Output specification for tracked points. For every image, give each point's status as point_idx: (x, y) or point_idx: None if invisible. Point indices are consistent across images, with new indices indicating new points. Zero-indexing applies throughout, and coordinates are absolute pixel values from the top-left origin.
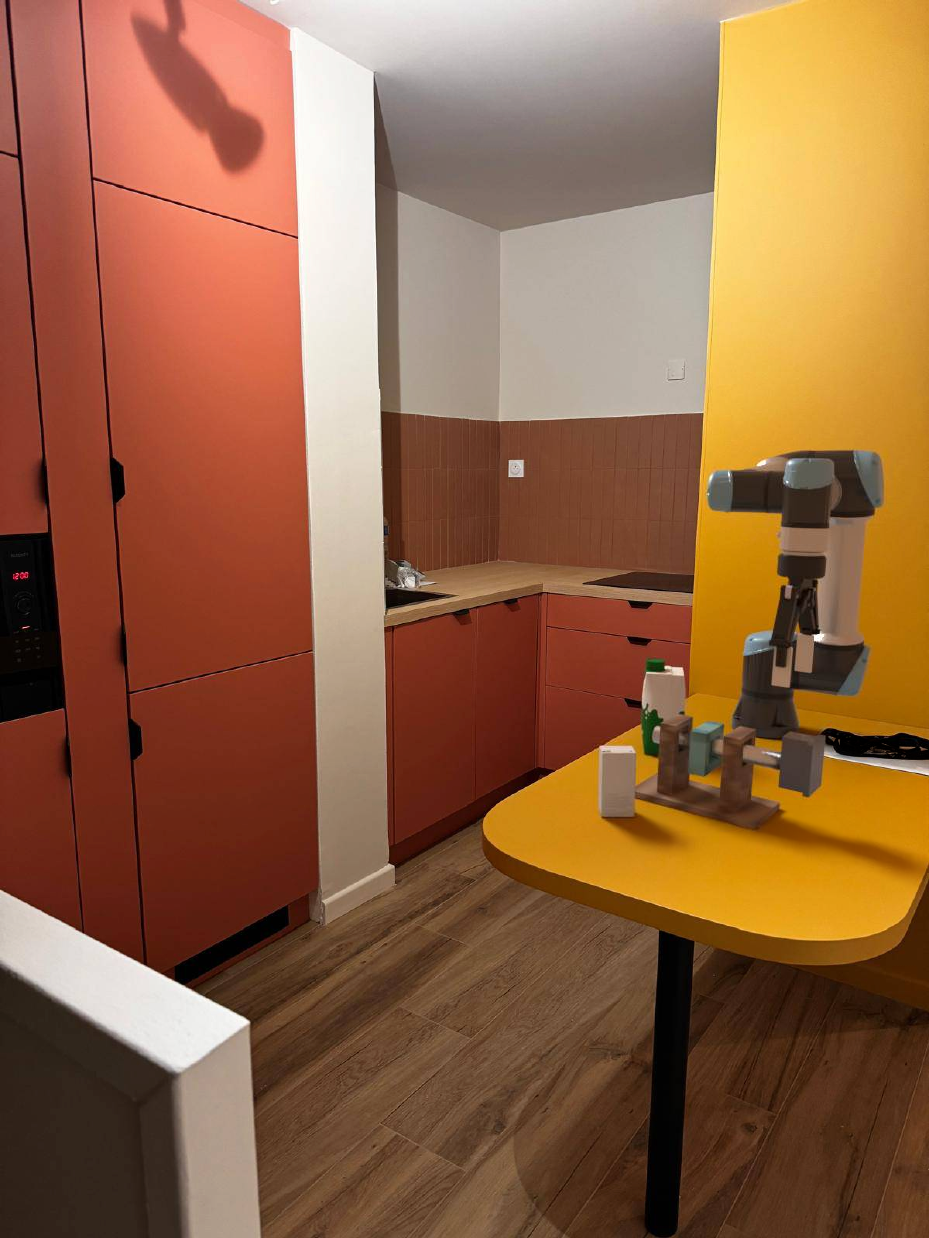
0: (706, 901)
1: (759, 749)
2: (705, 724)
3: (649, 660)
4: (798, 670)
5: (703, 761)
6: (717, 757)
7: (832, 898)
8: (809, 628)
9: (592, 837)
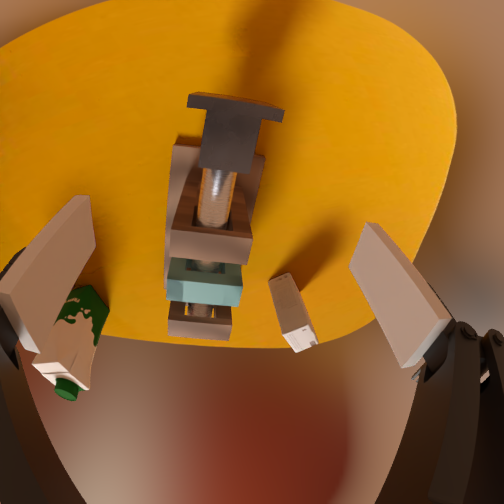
0: (427, 179)
1: (221, 201)
2: (190, 299)
3: (70, 398)
4: (92, 236)
5: None
6: None
7: (397, 77)
8: (1, 347)
9: (343, 283)
